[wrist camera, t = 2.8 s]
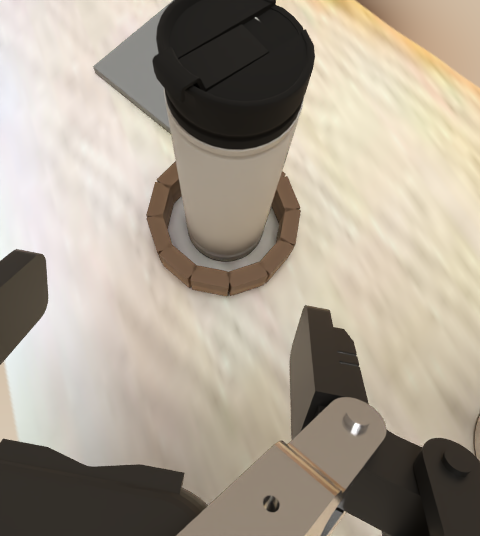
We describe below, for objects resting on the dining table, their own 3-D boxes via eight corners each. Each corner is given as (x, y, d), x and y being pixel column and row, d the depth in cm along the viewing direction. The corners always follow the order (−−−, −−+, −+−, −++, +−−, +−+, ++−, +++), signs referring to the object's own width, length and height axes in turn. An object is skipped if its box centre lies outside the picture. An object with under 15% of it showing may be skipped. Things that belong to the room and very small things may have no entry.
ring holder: (318, 222, 35) (328, 207, 32) (230, 323, 32) (232, 317, 30) (217, 141, 37) (217, 120, 34) (125, 232, 34) (116, 217, 31)
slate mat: (294, 68, 39) (296, 62, 39) (202, 159, 36) (202, 154, 35) (192, -8, 41) (191, -16, 40) (95, 73, 38) (93, 66, 37)
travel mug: (168, 222, 34) (111, 17, 15) (230, 178, 36) (249, -61, 17) (216, 279, 33) (218, 137, 14) (278, 231, 35) (356, 42, 16)
